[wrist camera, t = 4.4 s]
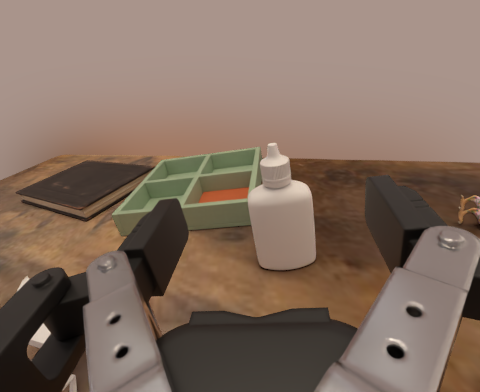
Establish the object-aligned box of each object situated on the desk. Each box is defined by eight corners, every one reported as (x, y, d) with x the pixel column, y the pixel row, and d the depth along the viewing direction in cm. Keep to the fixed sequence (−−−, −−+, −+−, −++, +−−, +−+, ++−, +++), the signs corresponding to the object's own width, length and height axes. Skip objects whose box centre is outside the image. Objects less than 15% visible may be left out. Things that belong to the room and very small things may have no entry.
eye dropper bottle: (270, 240, 31) (254, 135, 25) (321, 250, 28) (315, 135, 22) (252, 266, 28) (228, 153, 22) (306, 281, 25) (295, 156, 19)
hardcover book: (86, 221, 43) (79, 208, 42) (21, 202, 55) (15, 192, 54) (160, 175, 54) (157, 164, 53) (93, 168, 66) (89, 159, 65)
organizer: (120, 236, 37) (110, 214, 36) (166, 176, 53) (161, 160, 52) (257, 224, 34) (253, 200, 32) (263, 164, 50) (260, 146, 48)
